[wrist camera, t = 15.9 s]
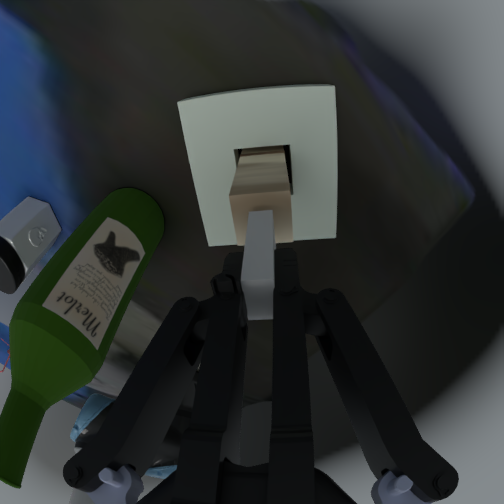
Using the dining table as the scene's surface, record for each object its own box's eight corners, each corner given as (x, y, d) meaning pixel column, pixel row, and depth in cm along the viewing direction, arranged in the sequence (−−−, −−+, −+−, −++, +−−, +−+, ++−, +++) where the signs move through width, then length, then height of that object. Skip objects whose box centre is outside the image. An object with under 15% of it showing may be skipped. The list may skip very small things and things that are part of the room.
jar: (69, 241, 37) (27, 296, 27) (39, 248, 38) (-1, 297, 28) (44, 189, 32) (-10, 237, 22) (15, 201, 33) (-33, 246, 23)
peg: (286, 178, 30) (294, 242, 21) (247, 181, 31) (237, 246, 21) (282, 142, 28) (291, 189, 18) (242, 145, 28) (227, 195, 19)
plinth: (331, 223, 33) (335, 237, 31) (213, 231, 35) (208, 246, 32) (328, 84, 24) (334, 86, 21) (186, 98, 25) (177, 102, 23)
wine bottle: (179, 218, 34) (69, 520, 8) (143, 258, 38) (49, 497, 12) (123, 172, 30) (-63, 441, 4) (93, 219, 34) (-41, 442, 8)
